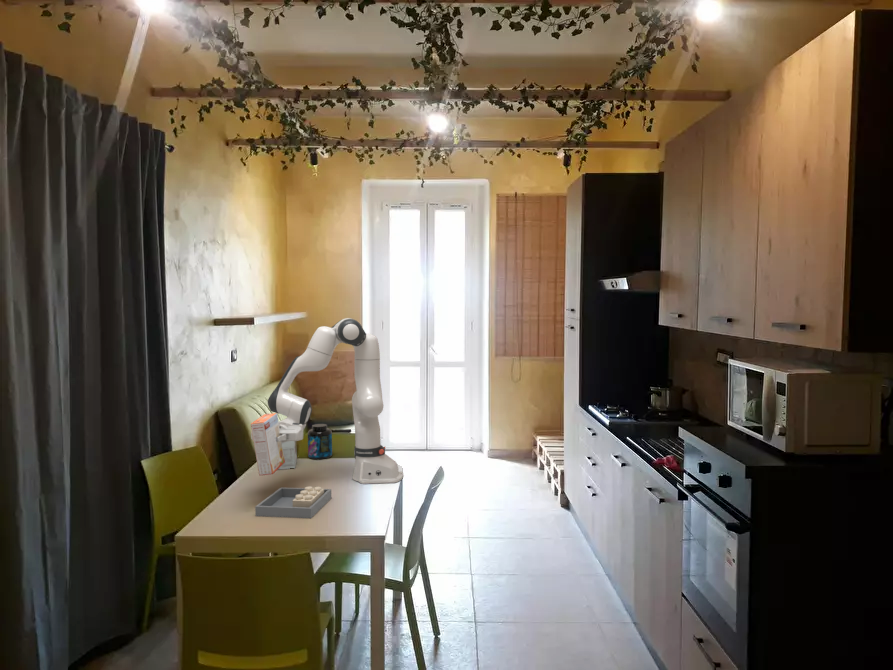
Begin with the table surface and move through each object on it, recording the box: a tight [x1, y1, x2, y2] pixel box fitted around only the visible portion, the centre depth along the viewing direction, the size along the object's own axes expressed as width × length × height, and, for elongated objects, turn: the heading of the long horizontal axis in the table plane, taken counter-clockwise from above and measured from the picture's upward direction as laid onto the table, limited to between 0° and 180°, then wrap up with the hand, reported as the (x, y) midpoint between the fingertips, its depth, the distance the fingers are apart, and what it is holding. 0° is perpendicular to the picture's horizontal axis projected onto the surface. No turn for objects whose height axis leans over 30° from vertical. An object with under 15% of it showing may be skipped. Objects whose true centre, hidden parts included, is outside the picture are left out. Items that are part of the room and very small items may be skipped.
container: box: [307, 423, 333, 460], centre depth 299 cm, size 12×12×16 cm
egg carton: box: [293, 485, 325, 508], centre depth 223 cm, size 7×14×6 cm, turn 172°
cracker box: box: [250, 412, 285, 476], centre depth 232 cm, size 14×6×21 cm, turn 176°
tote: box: [254, 487, 332, 519], centre depth 224 cm, size 21×22×4 cm
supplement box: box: [278, 441, 298, 470], centre depth 286 cm, size 17×13×18 cm
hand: (268, 439), depth 233 cm, fingers closed on cracker box, 6 cm apart
